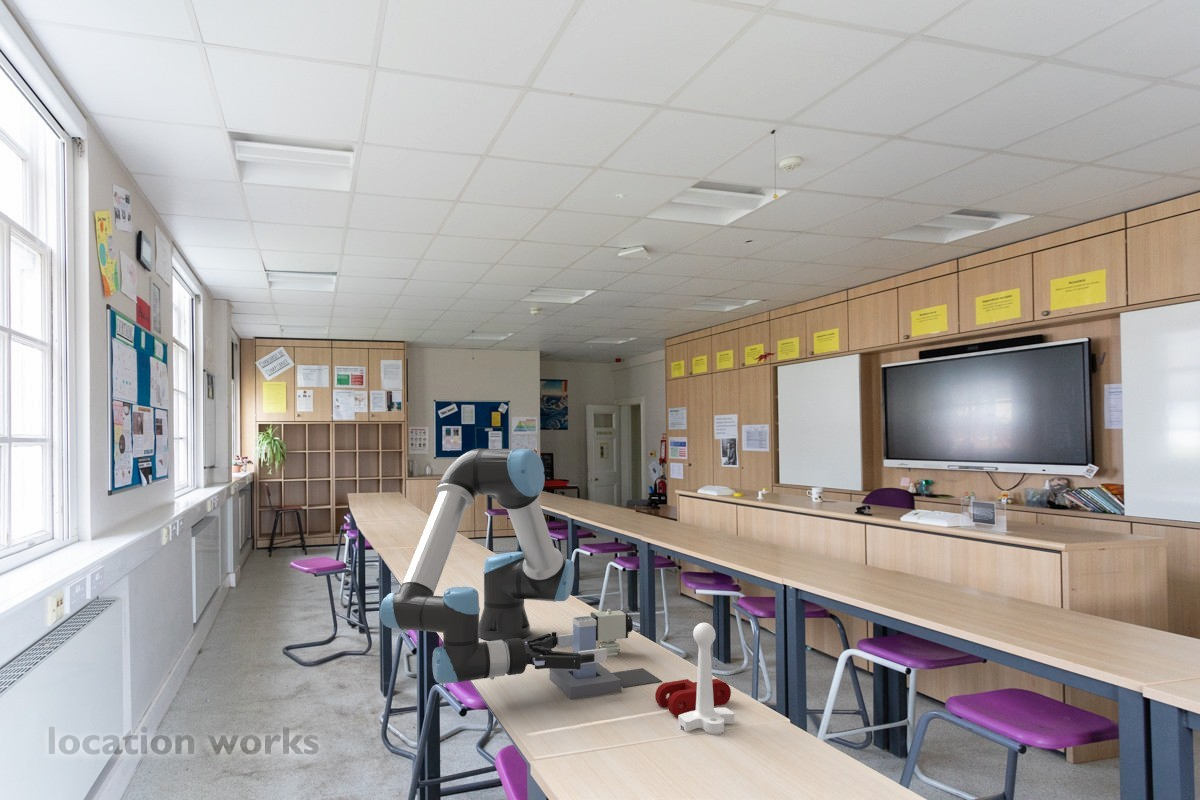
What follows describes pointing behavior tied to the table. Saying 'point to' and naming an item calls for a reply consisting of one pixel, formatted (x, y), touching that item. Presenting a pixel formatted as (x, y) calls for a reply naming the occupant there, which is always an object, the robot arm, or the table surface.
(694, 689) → the mechanical linkage
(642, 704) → the table surface
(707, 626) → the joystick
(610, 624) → the pneumatic valve
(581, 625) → the plug
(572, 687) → the socket
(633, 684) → the mat
